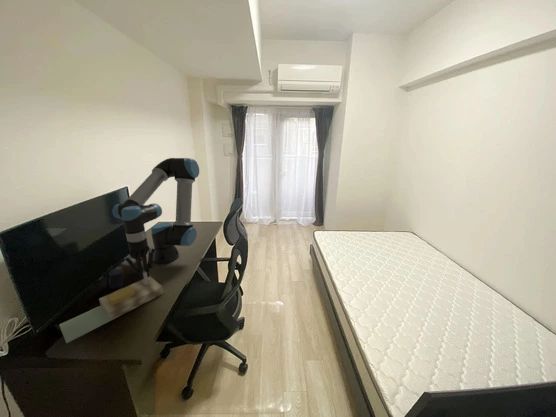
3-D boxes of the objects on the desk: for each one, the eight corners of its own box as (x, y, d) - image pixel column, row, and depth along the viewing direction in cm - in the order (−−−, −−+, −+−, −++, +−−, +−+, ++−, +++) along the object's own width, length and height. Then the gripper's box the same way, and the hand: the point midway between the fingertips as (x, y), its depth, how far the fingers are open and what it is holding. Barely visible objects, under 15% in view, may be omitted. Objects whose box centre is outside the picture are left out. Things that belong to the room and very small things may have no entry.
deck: (151, 282, 117) (149, 276, 116) (163, 293, 109) (162, 286, 108) (100, 305, 100) (98, 298, 99) (111, 320, 92) (109, 312, 91)
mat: (100, 305, 100) (100, 305, 100) (111, 320, 92) (111, 319, 92) (59, 325, 90) (59, 324, 90) (66, 343, 82) (66, 342, 82)
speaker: (103, 288, 112) (101, 270, 109) (112, 282, 118) (111, 265, 115) (116, 291, 111) (115, 273, 109) (125, 284, 117) (124, 267, 114)
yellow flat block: (130, 289, 106) (129, 285, 105) (135, 294, 102) (134, 290, 102) (108, 299, 99) (107, 295, 98) (112, 305, 95) (111, 301, 95)
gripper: (148, 233, 108) (156, 274, 115) (117, 242, 98) (128, 286, 105) (155, 236, 104) (162, 279, 111) (124, 246, 94) (134, 293, 101)
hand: (145, 283), depth 108 cm, fingers closed
